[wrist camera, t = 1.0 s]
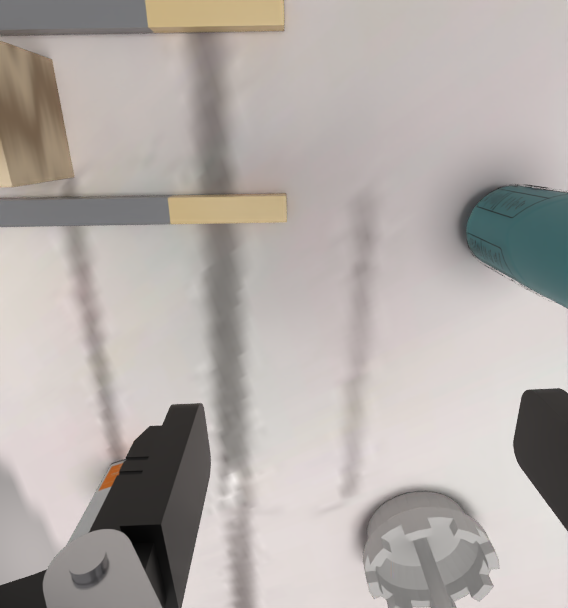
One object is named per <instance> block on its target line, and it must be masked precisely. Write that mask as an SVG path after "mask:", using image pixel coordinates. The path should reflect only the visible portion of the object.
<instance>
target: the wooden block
mask: <svg viewBox="0 0 568 608" xmlns="http://www.w3.org/2000/svg"><path fill="white" fill-rule="evenodd" d="M72 177H74V173H73V167H72V162H71V157H70V152H69V146H68V141H67V136H66V131H65V125H64V120H63V115H62V110H61V104H60V99H59V94H58V89H57V83H56V78H55V73H54V68H53V62H52V59H49V58H46V57H43V56H41V55H38V54H35V53H32V52H30V51H27V50H24V49H21V48H19V47H16V46H13V45H10V44H8V43H5V42H2V41H0V187H17V186H23V185H29V184H36V183H42V182H48V181H54V180H60V179H66V178H72Z"/></svg>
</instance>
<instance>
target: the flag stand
mask: <svg viewBox="0 0 568 608" xmlns="http://www.w3.org/2000/svg"><path fill="white" fill-rule="evenodd" d="M367 536H368V541H367V543H366V545H365V548H364V552H363V564H364V569H365V574H366V579H367V584H368V588H369V592H370V593H371V595H372V597H373V598H374V599H376V598H378V597H383V598H384V599H386V600H387V604H388V608H413V607H417V608H422V607H431V608H456V605H455V603H454V601H456V600H459V599H461V598H463V597H465V596H467V595H468V594H470V595H471V597H472V598H473V599H475V600H477V601H481V600H482V599H483V598H484V597H485V596H486V595H487V594H488V593H489V592H490V590H491V589H492V588H493V587H494V586H493V584H492V582H491V580H490V577H489V573H490V571H491V569H500V567H499V559H498V557H497V554H496V552H495V550H494V548H493V546H492V544H491V542H490V540H489V538H488V536H487V534H486V532H485V531H484V529H483V528H482V527H481V525H480V524H479V523H478V522H477V521H476V520H474V519H473V518H472V517H470V516H468V515H466V514H465V513H464V511H463V509H462V508H461V507H460V506H459V504H458V503H456V502H455V501H454V500H453V499H451V498H449V497H447V496H445V495H442V494H439V493H435V492H427V491H421V492H411V493H406V494H402V495H400V496H397V497H394V498H393V499H391V500H389V501H387V502H386V503H384V504H383V505H382V506H380V507H379V508H378V509H377V510H376V512H375V513H374V514H373V516H372V517H371V519H370V521H369V524H368V528H367Z"/></svg>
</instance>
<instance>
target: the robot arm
mask: <svg viewBox="0 0 568 608" xmlns="http://www.w3.org/2000/svg"><path fill="white" fill-rule="evenodd" d="M513 446H514V453H515V456H516V459H517V462H518V464H519V466H520V467H521V469H522V470H523V471H524V473H525V474H526V475H527V477H528V478H529V479H530V481H531V482H532V484H533V485H534V486H535V488H536V489H537V490H538V492H539V493H540V494H541V496H542V497H543V498H544V500H545V501H546V502H547V504H548V505H549V507H550V508H551V509H552V511H553V512H554V513H555V515H556V516H557V517H558V519H559V520H560V521H561V523H562V524H563V526H564V527H565V528H566V530H567V531H568V393H567V392H565V391H564V390H562V389H559V388H557V389H535V390H526V391H525V392H524V393H523V395H522V398H521V403H520V408H519V414H518V419H517V424H516V430H515V435H514V441H513ZM210 468H211V456H210V447H209V440H208V433H207V426H206V419H205V412H204V407H203V405H202V403H197V404H175V405H171V406H170V408H169V411H168V413H167V415H166V418H165V420H164V422H163V425H162V426H149V427H148V428H147V429H146V430H145V431H144V432H143V433H142V434H141V435H140V436H139V437H138V438H137V439H136V440H135V441H134V442H133V444H132V446H131V448H130V450H129V452H128V454H127V456H126V461H124V462H123V464H122V466H121V468H120V470H119V475H117V476H116V478H115V480H114V482H113V485H112V487H111V489H110V491H109V493H108V495H107V497H106V499H105V501H104V503H103V505H102V507H101V509H100V511H99V513H98V515H97V517H96V519H95V521H94V523H93V525H92V527H91V529H90V531H89V532H88V533H87V534H84V535H82V536H80V537H78V538H77V539H75V540H73V541H72V542H70V543H69V544H68V545H66V546H65V547H64V548H63V549H62V550H61V551H60V552H59V553H58V554H57V555H56V556H55V557H54V559H53V560H52V562H51V563H50V565H49V566H48V569H46V570H44V571H42V572H39V573H37V574H34V575H31V576H28V577H25V578H22V579H19V580H16V581H12V582H9V583H6V584H3V585H0V608H181V607H182V602H183V598H184V593H185V588H186V584H187V579H188V575H189V570H190V565H191V561H192V556H193V552H194V547H195V542H196V538H197V533H198V529H199V524H200V519H201V515H202V510H203V506H204V501H205V496H206V492H207V487H208V483H209V478H210Z"/></svg>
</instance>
